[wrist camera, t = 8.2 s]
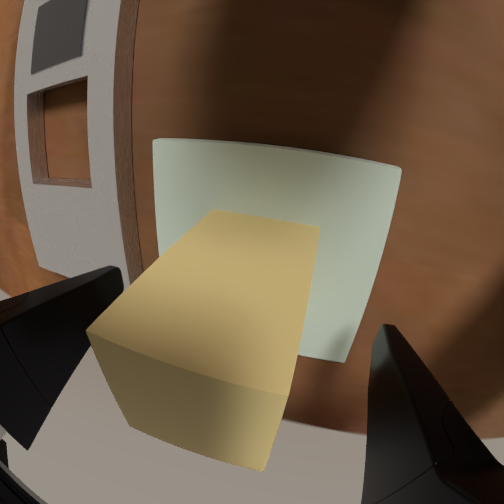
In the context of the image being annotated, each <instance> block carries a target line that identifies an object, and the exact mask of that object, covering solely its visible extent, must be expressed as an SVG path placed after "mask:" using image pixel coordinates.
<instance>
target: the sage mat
mask: <svg viewBox="0 0 504 504" xmlns="http://www.w3.org/2000/svg"><path fill="white" fill-rule="evenodd" d="M401 173H402V169H401V168H399V167H398V166H394V165H389V164H385V163H380V162H376V161H371V160H366V159H361V158H356V157H350V156H345V155H339V154H333V153H327V152H321V151H314V150H307V149H300V148H293V147H285V146H277V145H268V144H258V143H247V142H236V141H222V140H205V139H180V138H159V139H155V140H153V174H154V196H155V212H156V226H157V238H158V249H159V257H160V256H161V255H162V254H164V253H165V252H166V251H167V250H168V249H169V248H170V247H171V246H172V245H173V244H174V243H175V242H177V241H178V240H179V239H180V238H181V237H182V236H183V235H184V234H185V233H186V232H188V231H189V230H190V229H191V228H192V227H193V226H194V225H195V224H197V223H198V222H199V221H200V220H201V219H202V218H203V217H204V216H206V215H207V214H208V213H209V212H210V211H211V210H212V209H214V210H221V211H227V212H234V213H240V214H246V215H253V216H259V217H265V218H271V219H277V220H283V221H289V222H295V223H300V224H306V225H312V226H317V227H320V232H319V239H318V246H317V252H316V259H315V265H314V271H313V277H312V283H311V289H310V294H309V300H308V305H307V311H306V316H305V321H304V326H303V331H302V336H301V341H300V346H299V351H298V355H302V356H307V357H313V358H318V359H324V360H330V361H336V362H342V363H345V360H346V358H347V355H348V353H349V350H350V348H351V345H352V343H353V340H354V337H355V335H356V332H357V330H358V327H359V324H360V321H361V319H362V316H363V313H364V310H365V307H366V304H367V301H368V298H369V295H370V292H371V289H372V286H373V283H374V280H375V277H376V273H377V270H378V267H379V263H380V260H381V257H382V253H383V250H384V246H385V242H386V239H387V235H388V231H389V227H390V223H391V219H392V215H393V211H394V206H395V202H396V197H397V193H398V188H399V183H400V178H401Z"/></svg>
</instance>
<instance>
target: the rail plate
mask: <svg viewBox="0 0 504 504" xmlns="http://www.w3.org/2000/svg"><path fill="white" fill-rule="evenodd" d="M138 4H139V0H25V1H24V6H23V11H22V17H21V22H20V29H19V36H18V44H17V53H16V65H15V85H14V116H15V137H16V149H17V159H18V168H19V175H20V182H21V189H22V195H23V200H24V206H25V211H26V216H27V220H28V225H29V229H30V233H31V238H32V242H33V245H34V249H35V253H36V256H37V260H38V263H39V266H40V267H43V268H45V269H48V270H50V271H53V272H56V273H58V274H61V275H64V276H66V277H69V278H72V277H75V276H78V275H81V274H84V273H87V272H90V271H93V270H96V269H99V268H103V267H106V266H109V265H112V266H116V267H119V268H120V270H121V273H122V278H123V283H124V291H125V290H126V289H127V288H128V287H129V286H130V285H131V284H132V283H133V282H134V281H135V280H136V279H137V278H138V277H139V276H140V275H141V274H142V273H143V268H142V261H141V254H140V246H139V237H138V228H137V219H136V208H135V196H134V182H133V164H132V134H131V99H132V70H133V53H134V40H135V30H136V20H137V12H138ZM84 80H88V88H87V120H88V145H89V161H90V173H91V180H89V179H70V178H49V177H48V169H47V160H46V149H45V134H44V92H45V91H48V90H51V89H54V88H58V87H61V86H65V85H68V84H72V83H76V82H80V81H84ZM124 291H123V292H124Z"/></svg>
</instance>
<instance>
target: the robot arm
mask: <svg viewBox="0 0 504 504" xmlns="http://www.w3.org/2000/svg"><path fill="white" fill-rule="evenodd" d="M123 291H124V283H123V278H122V273H121V270H120V268H119V267H116V266H112V265H109V266H106V267H103V268H99V269H96V270H93V271H90V272H87V273H84V274H81V275H78V276H75V277H72V278H69V279H66V280H63V281H60V282H56V283H54V284H51V285H48V286H45V287H42V288H39V289H36V290H33V291H30V292H27V293H24V294H21V295H18V296H15V297H12V298H9V299H5V300H2V301H0V504H47V503H46V502H45V501H44V500H42V499H41V498H40V497H39V496H37V495H36V494H35V493H34V492H33V491H32V490H30V489H29V488H28V487H27V486H26V485H25V484H24V483H23V482H22V481H20V480H19V479H18V478H17V477H16V476H15V475H14V474H13V473H12V472H11V471H10V470H9V467H8V458H7V446H6V442H5V441H4V440H3V439H2V437H3V436H4V435H5V433H6V432H8V433H9V434H10V435H11V436H12V437H13V438H14V439H15V440H16V441H17V442H18V443H19V444H21V445H22V446H23V447H24V448H25V449H26V450H28V449H29V448H30V446H31V444H32V443H33V441H34V439H35V437H36V435H37V433H38V432H39V430H40V428H41V426H42V424H43V423H44V421H45V419H46V417H47V415H48V414H49V412H50V410H51V408H52V406H53V405H54V403H55V401H56V400H57V398H58V396H59V395H60V393H61V391H62V390H63V388H64V386H65V385H66V383H67V382H68V380H69V378H70V377H71V375H72V374H73V372H74V370H75V369H76V367H77V365H78V364H79V363H80V361H81V359H82V358H83V356H84V355H85V353H86V352H87V350H88V349H89V347H90V346H91V343H90V341H89V338H88V335H87V333H86V329H87V328H88V327H89V326H90V325H91V324H92V323H93V322H94V321H95V320H96V319H97V318H98V317H99V316H100V315H101V314H102V313H103V312H104V311H105V310H106V309H107V308H108V307H109V306H110V305H111V304H112V303H113V302H114V301H115V300H116V299H117V298H118V297H119V296H120V295H121V294H122V293H123ZM361 504H504V466H503V465H502V464H500V463H499V462H498V461H497V460H496V459H495V457H494V456H493V455H492V454H491V453H490V451H489V450H488V449H487V447H486V446H485V445H484V444H483V443H482V441H481V440H480V439H479V437H478V436H477V435H476V434H475V433H474V431H473V430H472V429H471V427H470V426H469V425H468V424H467V422H466V421H465V420H464V418H463V417H462V415H461V414H460V413H459V411H458V410H457V409H456V407H455V406H454V404H453V403H452V401H450V399H449V397H448V396H447V394H446V393H445V392H444V390H443V389H442V387H441V386H440V385H439V383H438V382H437V380H436V379H435V378H434V376H433V375H432V374H431V372H430V371H429V369H428V368H427V367H426V365H425V364H424V363H423V361H422V360H421V359H420V357H419V356H418V355H417V353H416V352H415V351H414V349H413V348H412V347H411V346H410V344H409V343H408V342H407V340H406V339H405V338H404V337H403V335H402V334H401V333H400V331H399V330H398V329H397V328H396V327H395V326H394V325H390V324H382V325H381V327H380V329H379V331H378V334H377V336H376V338H375V341H374V343H373V347H372V356H371V367H370V376H369V385H368V417H367V444H366V461H365V473H364V484H363V493H362V501H361Z"/></svg>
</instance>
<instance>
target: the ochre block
mask: <svg viewBox="0 0 504 504" xmlns="http://www.w3.org/2000/svg"><path fill="white" fill-rule="evenodd" d="M319 232H320V227H317V226H312V225H306V224H300V223H295V222H289V221H283V220H277V219H271V218H265V217H259V216H253V215H246V214H240V213H234V212H227V211H221V210H214V209H212V210H211V211H210V212H209V213H208V214H207V215H206V216H204V217H203V218H202V219H201V220H200V221H199V222H198V223H197V224H195V225H194V226H193V227H192V228H191V229H190V230H189V231H188V232H186V233H185V234H184V235H183V236H182V237H181V238H180V239H179V240H178V241H177V242H175V243H174V244H173V245H172V246H171V247H170V248H169V249H168V250H167V251H166V252H165V253H164V254H162V255H161V256H160V257H159V258H158V259H157V260H156V261H155V262H154V263H153V264H152V265H151V266H150V267H149V268H148V269H147V270H146V271H144V272H143V273H142V274H141V275H140V276H139V277H138V278H137V279H136V280H135V281H134V282H133V283H132V284H131V285H130V286H129V287H128V288H127V289H126V290H125V291H124V292H123V293H122V294H121V295H120V296H119V297H118V298H117V299H116V300H115V301H114V302H113V303H112V304H111V305H110V306H109V307H108V308H107V309H106V310H105V311H104V312H103V313H102V314H101V315H100V316H99V317H98V318H97V319H96V320H95V321H94V322H93V323H92V324H91V325H90V326H89V327H88V328H87V329H86V333H87V335H88V338H89V341H90V343H91V346H92V348H93V350H94V353H95V355H96V358H97V360H98V362H99V365H100V367H101V370H102V372H103V374H104V376H105V378H106V381H107V382H108V385H109V387H110V389H111V391H112V393H113V395H114V397H115V399H116V401H117V403H118V405H119V407H120V409H121V411H122V413H123V415H124V417H125V418H126V420H127V422H128V424H129V426H131V427H133V428H135V429H137V430H139V431H142V432H144V433H146V434H148V435H151V436H153V437H155V438H158V439H160V440H162V441H165V442H167V443H170V444H173V445H175V446H178V447H180V448H183V449H186V450H189V451H192V452H194V453H197V454H200V455H204V456H207V457H210V458H213V459H216V460H219V461H223V462H226V463H230V464H233V465H237V466H241V467H245V468H249V469H253V470H257V471H261V472H264V470H265V467H266V464H267V461H268V458H269V455H270V452H271V450H272V447H273V444H274V440H275V437H276V434H277V431H278V428H279V425H280V422H281V419H282V415H283V412H284V409H285V406H286V402H287V399H288V395H289V391H290V387H291V383H292V378H293V374H294V369H295V365H296V360H297V356H298V351H299V346H300V341H301V336H302V331H303V326H304V321H305V316H306V311H307V305H308V300H309V294H310V289H311V283H312V277H313V271H314V265H315V259H316V252H317V246H318V239H319Z"/></svg>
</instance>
